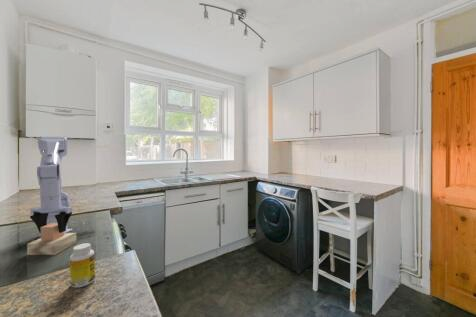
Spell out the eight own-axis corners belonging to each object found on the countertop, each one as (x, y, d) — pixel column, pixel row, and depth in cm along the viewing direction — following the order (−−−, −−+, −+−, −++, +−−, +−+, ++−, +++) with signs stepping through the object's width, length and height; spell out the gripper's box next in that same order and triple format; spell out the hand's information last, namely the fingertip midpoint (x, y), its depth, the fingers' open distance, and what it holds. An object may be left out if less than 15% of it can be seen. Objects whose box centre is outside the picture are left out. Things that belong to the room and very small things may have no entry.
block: (41, 240, 79) (40, 227, 79) (52, 235, 84) (51, 223, 83) (53, 240, 79) (52, 227, 79) (63, 235, 83) (63, 223, 83)
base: (27, 254, 76) (26, 243, 76) (52, 242, 86) (52, 233, 86) (54, 254, 76) (53, 243, 76) (76, 242, 86) (76, 232, 86)
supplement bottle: (93, 285, 58) (92, 248, 58) (68, 291, 56) (66, 252, 55) (97, 274, 63) (95, 240, 63) (73, 279, 61) (72, 244, 60)
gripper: (21, 198, 77) (23, 236, 77) (60, 198, 76) (62, 235, 77) (39, 194, 84) (41, 229, 84) (75, 194, 83) (77, 228, 84)
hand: (52, 231), depth 81 cm, fingers open, 7 cm apart
